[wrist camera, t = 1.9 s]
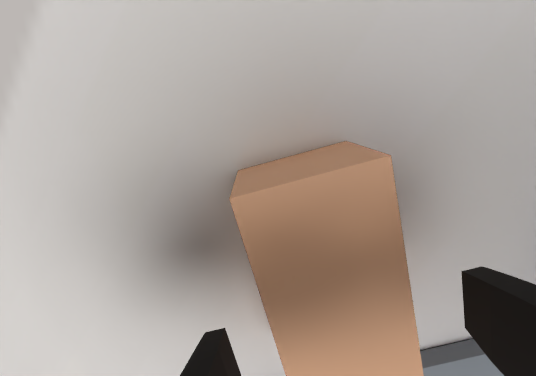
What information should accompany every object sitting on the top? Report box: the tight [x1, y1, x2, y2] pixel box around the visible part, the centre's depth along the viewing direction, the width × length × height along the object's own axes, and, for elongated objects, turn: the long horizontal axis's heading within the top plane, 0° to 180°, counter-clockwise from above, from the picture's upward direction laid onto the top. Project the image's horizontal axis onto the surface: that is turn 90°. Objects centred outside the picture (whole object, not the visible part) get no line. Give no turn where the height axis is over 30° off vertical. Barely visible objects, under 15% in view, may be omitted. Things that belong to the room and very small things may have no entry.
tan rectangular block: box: [229, 141, 424, 376], centre depth 12 cm, size 5×9×4 cm, turn 15°
